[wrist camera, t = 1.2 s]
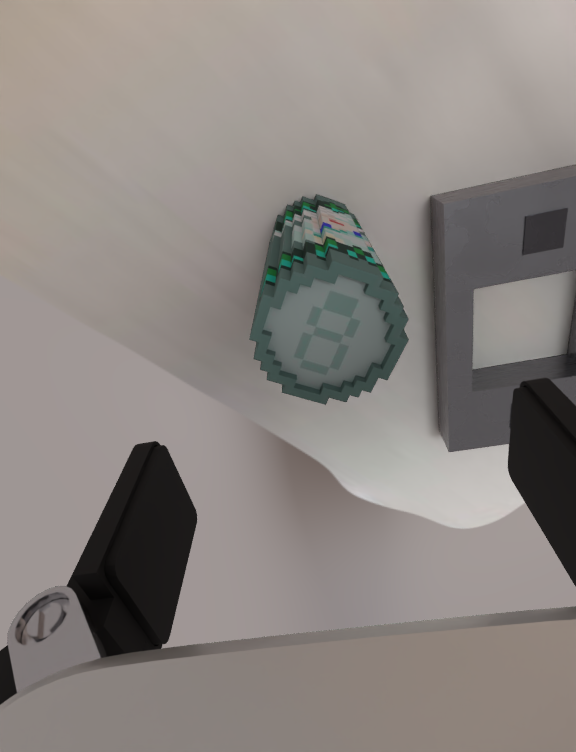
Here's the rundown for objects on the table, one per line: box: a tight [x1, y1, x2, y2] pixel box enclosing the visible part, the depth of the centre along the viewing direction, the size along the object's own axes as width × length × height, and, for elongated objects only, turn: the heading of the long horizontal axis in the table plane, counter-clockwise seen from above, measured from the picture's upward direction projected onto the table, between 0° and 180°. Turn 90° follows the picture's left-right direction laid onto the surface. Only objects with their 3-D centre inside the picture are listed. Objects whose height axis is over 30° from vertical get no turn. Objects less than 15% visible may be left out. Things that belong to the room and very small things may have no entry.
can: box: [249, 194, 409, 405], centre depth 24 cm, size 6×6×15 cm
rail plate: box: [431, 165, 576, 452], centre depth 31 cm, size 12×20×3 cm, turn 12°
